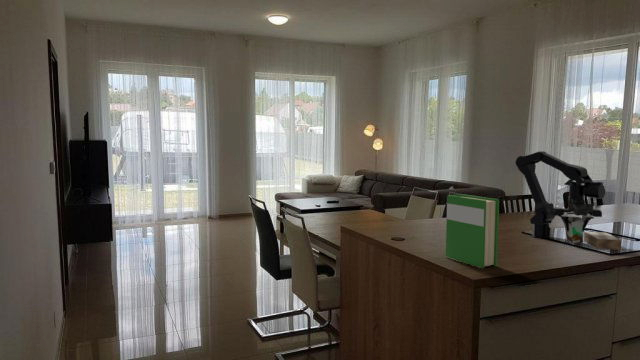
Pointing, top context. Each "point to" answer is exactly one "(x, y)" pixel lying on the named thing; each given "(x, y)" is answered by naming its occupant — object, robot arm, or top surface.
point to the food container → (575, 230)
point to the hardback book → (472, 229)
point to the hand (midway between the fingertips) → (574, 231)
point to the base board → (602, 240)
